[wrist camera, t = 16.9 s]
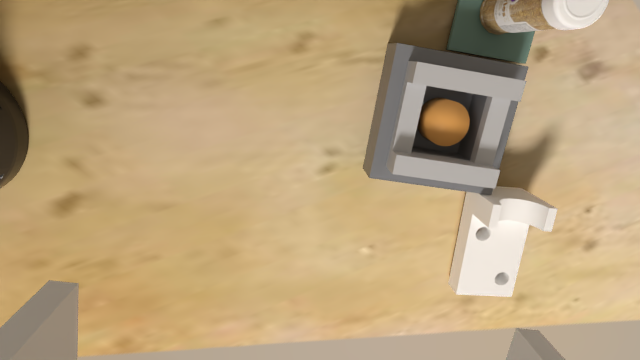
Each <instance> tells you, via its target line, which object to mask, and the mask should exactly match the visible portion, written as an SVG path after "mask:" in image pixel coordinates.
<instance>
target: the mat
mask: <svg viewBox="0 0 640 360" xmlns="http://www.w3.org/2000/svg"><path fill="white" fill-rule="evenodd" d="M483 1H484V0H458V2H457V6H456V11H455V15H454V19H453V23H452V27H451V32H450V36H449V40H448V44H447V50H452V51H458V52H463V53H469V54H474V55H480V56H485V57H490V58H496V59H501V60H507V61H512V62H518V63H525V64H526V61H527V57H528V54H529V50H530V47H531V43H532V40H533V36H534V33H535V31H529V32H517V33H504V34H500V35H497V34H492V33H489V32H488V31H487V30H486V29H485V28H484V27H483V25H482V24H481V20H480V7H481V5H482V2H483Z"/></svg>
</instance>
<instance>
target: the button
mask: <svg viewBox="0 0 640 360" xmlns="http://www.w3.org/2000/svg"><path fill="white" fill-rule="evenodd" d="M469 125H470V118H469V114H468V112H467V110H466V108H465V107H464V106H463V105H462V104H460V103H458V102H456V101H452V100H449V99H445V98H434V99H431V100H429V101H427V102H426V103H425V104H424V105H423V106H422V108H421V112H420V117H419V121H418V125H417V128H418V130H419V132H420V133H421V135H422V136H424V137H425V138H427V139H428V140H430V141H431V142H433V143H435V144H437V145H440V146H451V145H454V144H456V143H458V142H459V141H460V140H462V139H463V138H464V136H465V135H466V133H467V131H468V129H469Z"/></svg>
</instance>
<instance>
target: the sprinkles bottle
mask: <svg viewBox="0 0 640 360" xmlns="http://www.w3.org/2000/svg"><path fill="white" fill-rule="evenodd" d="M608 2H609V0H484V1H483V2H482V5H481V7H480V20H481V24H482V25H483V27H484V28H485V29H486V30H487V31H488V32H489V33H492V34H497V35H500V34H504V33H517V32H529V31H542V30H548V29H559V30H573V29H581V28H584V27H587V26H589V25H591V24H593V23H594V22H595V21H597V20H598V19H599V18H600V16H601V15H602V14H603V13H604V11H605V9H606V7H607V5H608Z"/></svg>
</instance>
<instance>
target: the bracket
mask: <svg viewBox="0 0 640 360" xmlns="http://www.w3.org/2000/svg"><path fill="white" fill-rule="evenodd" d="M556 213H557V208H555V207H554V206H552V205H550V204H548V203H547V202H545V201H543V200H541V199H540V198H538V197H536V196H534V195H533V194H531V193H529V192H527V191H526V190H524V189H522V188H515V187H501V186H496V187H495V189H493V191H492V195H487V194H480V193H473V192H466V196H465V201H464V206H463V211H462V216H461V222H460V227H459V232H458V237H457V242H456V247H455V252H454V257H453V262H452V267H451V272H450V277H449V282H448V284H449V285H450V286H451V288H452V289H453V291H454V292H455V294H459V295H482V296H506V297H512V293H513V289H514V285H515V281H516V277H517V273H518V269H519V265H520V260H521V256H522V252H523V248H524V244H525V240H526V236H527V232H528V228H529V225H532V226H534V227H537V228H539V229H541V230H542V231H551V232H552V228H553V224H554V220H555V217H556ZM479 228H480V229H479ZM478 229H479V230H478ZM477 230H478V231H477Z"/></svg>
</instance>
